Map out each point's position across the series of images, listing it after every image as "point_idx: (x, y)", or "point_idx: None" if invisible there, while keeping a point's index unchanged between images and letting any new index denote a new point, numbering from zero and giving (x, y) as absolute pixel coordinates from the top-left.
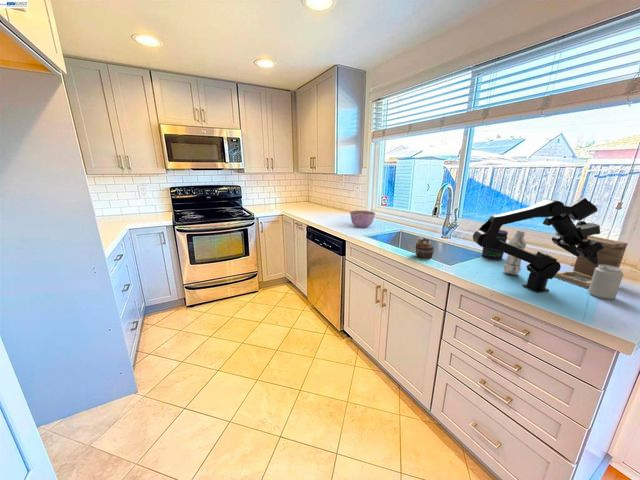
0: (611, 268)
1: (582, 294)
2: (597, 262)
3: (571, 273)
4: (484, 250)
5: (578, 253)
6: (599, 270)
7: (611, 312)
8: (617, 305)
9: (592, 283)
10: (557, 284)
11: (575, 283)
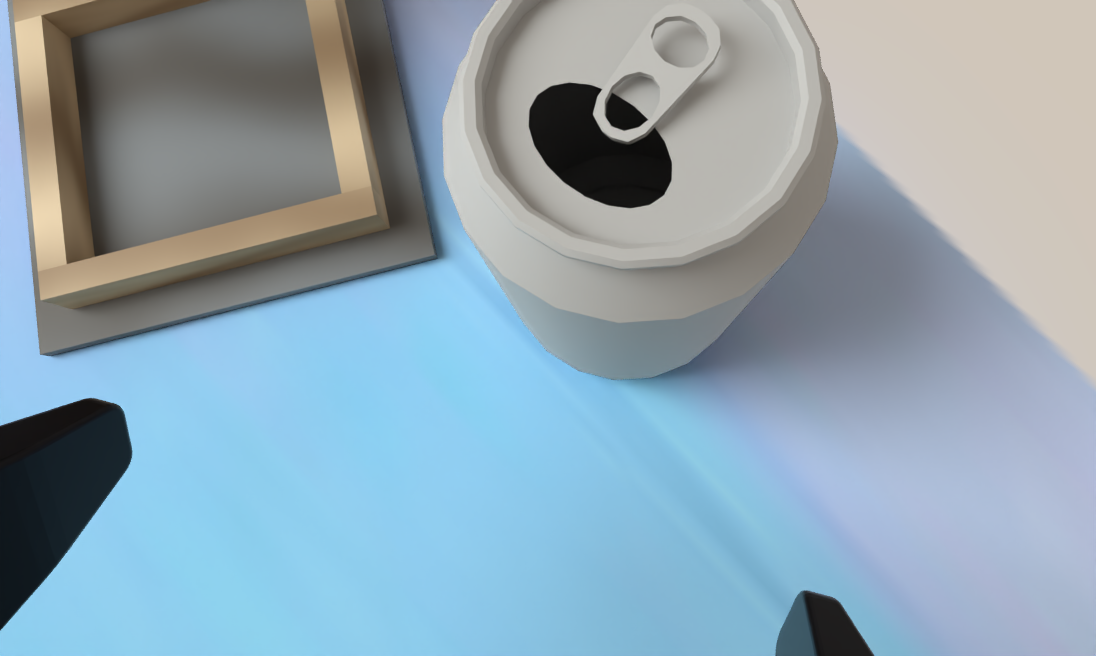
0: (676, 101)
1: (587, 458)
2: (856, 646)
3: (61, 65)
4: None
5: (55, 459)
6: (626, 311)
7: (1042, 577)
8: (856, 320)
9: (582, 355)
10: (304, 508)
11: (312, 268)
